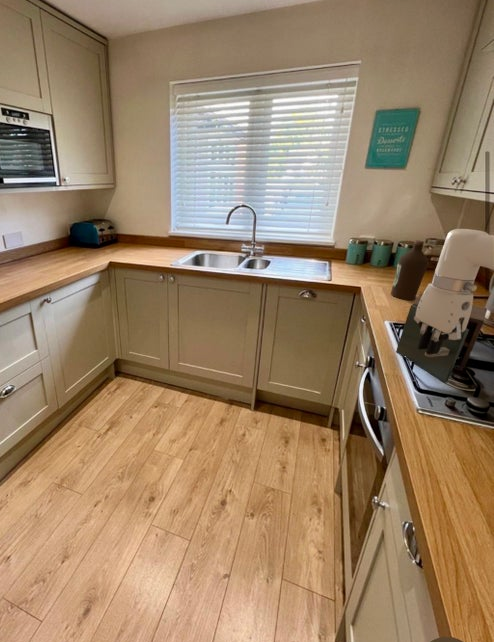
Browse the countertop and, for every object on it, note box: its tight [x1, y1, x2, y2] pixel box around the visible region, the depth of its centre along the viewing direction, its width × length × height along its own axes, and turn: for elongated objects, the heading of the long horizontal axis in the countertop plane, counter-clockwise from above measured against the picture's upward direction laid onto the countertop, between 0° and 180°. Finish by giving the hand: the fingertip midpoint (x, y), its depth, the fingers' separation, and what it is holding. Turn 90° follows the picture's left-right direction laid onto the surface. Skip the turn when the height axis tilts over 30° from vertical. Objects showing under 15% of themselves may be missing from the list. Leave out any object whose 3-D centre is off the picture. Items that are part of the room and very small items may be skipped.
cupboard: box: [412, 293, 487, 368], centre depth 98 cm, size 12×16×16 cm
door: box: [395, 304, 469, 384], centre depth 91 cm, size 7×16×16 cm, turn 13°
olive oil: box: [390, 239, 429, 301], centre depth 143 cm, size 11×11×25 cm
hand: (427, 350), depth 84 cm, fingers closed on door
